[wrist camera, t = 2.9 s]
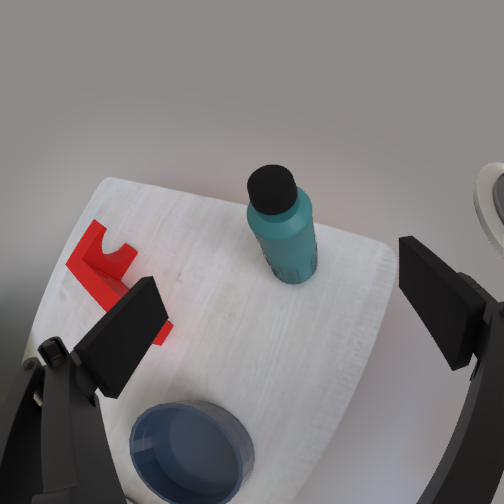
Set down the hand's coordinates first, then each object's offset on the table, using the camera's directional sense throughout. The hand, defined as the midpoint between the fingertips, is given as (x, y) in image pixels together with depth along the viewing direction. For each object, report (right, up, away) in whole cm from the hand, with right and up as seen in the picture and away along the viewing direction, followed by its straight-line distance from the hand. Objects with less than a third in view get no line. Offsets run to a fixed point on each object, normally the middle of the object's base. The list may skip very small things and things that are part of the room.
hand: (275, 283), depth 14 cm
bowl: (-9, -27, +17) cm, 33 cm away
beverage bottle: (+5, -1, +26) cm, 26 cm away
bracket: (-20, -5, +30) cm, 37 cm away
